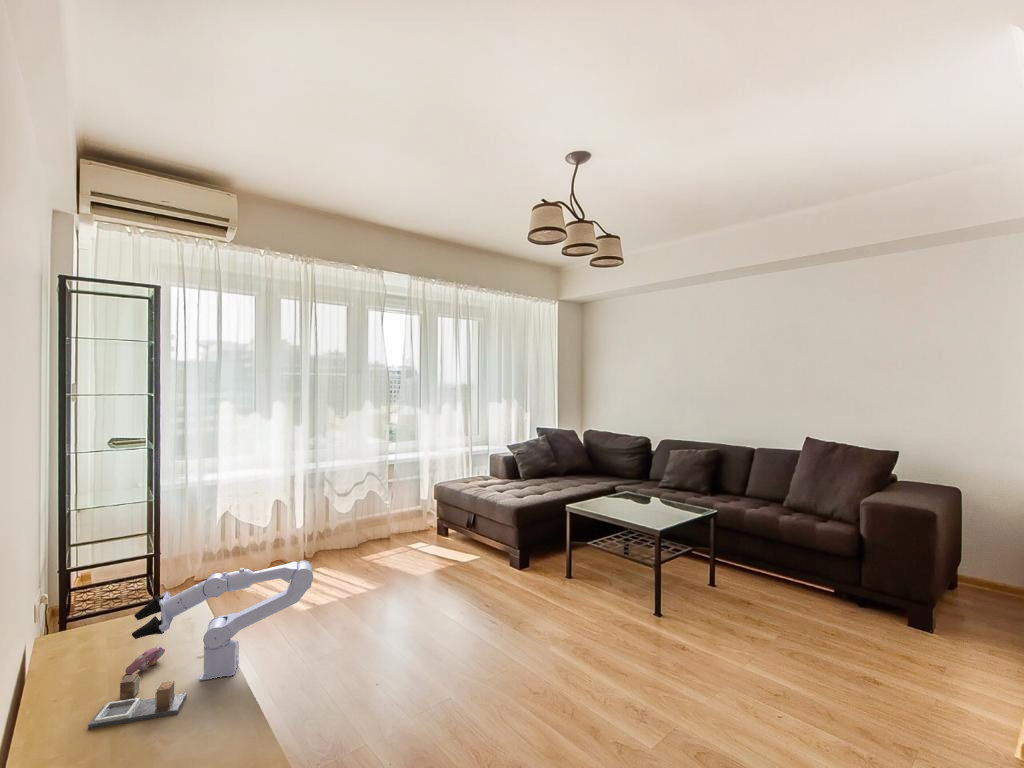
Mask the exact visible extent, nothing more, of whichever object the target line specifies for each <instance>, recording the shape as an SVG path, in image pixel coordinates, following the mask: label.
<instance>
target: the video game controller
mask: <svg viewBox="0 0 1024 768" xmlns="http://www.w3.org/2000/svg"><path fill="white" fill-rule="evenodd" d="M165 651H166V649H165V648H163V647H162V646H161V647H160V646H159V645H157V646H156V647H151V648H149V649H147V650H145V651H144V652H143V653H142V654H140V655H139V656H138V657H136V658H135V659H134V661H132V662H131V664H129V665H128V666H127V667H126V668H125V671H124V672H125V674H126V675H133V674H134V673H136V672H137V671H140V672H143V671H145V670H146V669H147V668H148V666H149V667H152V666H153V664H154V665H155V664H156V663H157V661H158V660H159V659H160V658H162V656H163V655H164V654H165Z"/></svg>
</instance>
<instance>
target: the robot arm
mask: <svg viewBox="0 0 1024 768" xmlns="http://www.w3.org/2000/svg"><path fill="white" fill-rule="evenodd" d="M313 569H314V568H313V564H312V563H311V562H310V561H308V560H300V561H291V562H288V563H285V564H280V565H276V566H272V567H268V568H264V569H260V570H255V571H253V570H251V569H249V568H247V569H245V567H240V568H239V570H236V571H229V572H227V571H225V572H224V571H223V572H222V573H220V572H217V573H211V574H210V575H209V576H207V579H206V580H203V581H200V582H199V583H197V584H196V583H195V584H194V585H192V586H191V587H189V588H187V589H185V590H183V591H181V592H179V593H177V594H175V595H173V596H172V594H171V593H170V592H169V591H165V592H164V593H162V594H161V596H159V595H157V594H156V595H155V596H153V598H152V599H151V600H150V601H149V602H148V603H147V604H146V605H145V606H143V607H142V608H141V609H140V610H138V612H136V613H135V614H134V618H135V619H136V620H137V621H140V620H143V619H146V618H147V617H149V616H152V615H155V616H153V617H152V618H151V619H150V620H149V621H148V622H147V623H145V624H144V625H142V626H141V627H140V628H138V629H137V628H136V630H134V631H133V632H131V636H132V637H133V638H134V639H135V640H138V639H140V638H144V637H147V636H152V635H163V634H165V632H166V631H168V630H170V627H171V623H172V621H173V620H174V618H175V617H177V616H179V615H181V614H183V613H184V612H186V611H188V610H191V609H192V608H194V607H197V605H200V604H202V603H203V602H205V601H206V600H208V599H209V600H210V598H218V597H221V596H222V595H223V594H224V593H229V592H235V591H239V590H244V589H249V588H251V587H252V585H253V584H255V583H260V582H266V581H273V580H280V579H281V580H283V581H285V582H286V583H288V587H287V589H286V590H283V591H282V592H279V593H277V594H274V595H273V596H270V597H267V599H264V600H262V601H260V602H257V603H256V604H254V605H252V606H249V607H247V608H245V609H243V610H241V611H239V612H236V613H235V612H234V613H233V612H232V613H231V612H230V613H229V614H226V615H219V616H216V617H214V618H212V619H211V620H210V621H209V623H208V625H207V630H206V632H205V633H204V635H203V637H202V638H203V639H202V640H203V670H202V673H201V675H200V677H199V678H198V681H206V680H213V679H212V678H214V679H218V678H217V677H220V678H223V677H222V676H227V677H232V675H233V676H234V675H235V673H236V671H237V669H238V667H237V665H238V666H239V665H240V660H239V657H240V648H239V647H240V644H239V643H240V642H239V639H238V640H236V639H235V640H234V639H232V638H233V637H235V635H237V634H238V632H240V631H241V630H243V629H245V628H247V627H249V626H251V625H254V624H255V623H258V622H260V621H261V620H263V619H266V618H268V617H270V616H273V615H274V614H276V613H279V612H281V611H283V610H284V609H287V608H289V607H292V606H293V605H295V604H297V603H298V602H299V601H300V600H301V599H302V598H303V596H304V595H305V594H306V593H307V591H308V590H310V588H311V587H312V583H313V581H314V574H313V571H314V570H313ZM157 613H161V614H160V619H158V617H157V616H156V614H157ZM236 668H237V669H236Z"/></svg>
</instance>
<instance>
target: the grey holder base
mask: <svg viewBox="0 0 1024 768" xmlns="http://www.w3.org/2000/svg"><path fill="white" fill-rule="evenodd" d="M187 695H188V693H187V692H184V693H178V694H175V680H170V681H164V682H161V683H160V685H159V686H158V687H157V689H156V690H155V695H154V696H155V697H154V698H152V697H151V698H148V699H141V697H136V698H134V697H133V699H128V700H121V701H120V700H117V701H109V702H107V703H106V704H105V705H103V706H101V708H100V709H99V711H98V712H97V713H96V714H95V715H94V717H93V718H92V719H91V721H90V722H89V723H88V725H87V730H91V729H90V728H93V729H97V728H96V727H99V728H102V727H103V726H104V727H110V725H111V726H115V724H117V725H122V724H127V723H133V722H140V721H145V720H146V721H147V720H150V719H151V720H152V719H158V718H163V717H169V716H175V715H176V716H177V715H178V714H179V712H180V710H181V708H183V707H182V706H183V705H184V703H185V701H186V699H187Z"/></svg>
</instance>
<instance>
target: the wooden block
mask: <svg viewBox="0 0 1024 768" xmlns="http://www.w3.org/2000/svg"><path fill="white" fill-rule="evenodd" d="M139 691H140V675H139V673H135V674H134V673H133V674H129V675H128V674H126V675H125V676H124V678H123V679H122V680H121V682H119V701H120V700H128V699H134V697H135V696H137V693H139Z"/></svg>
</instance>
